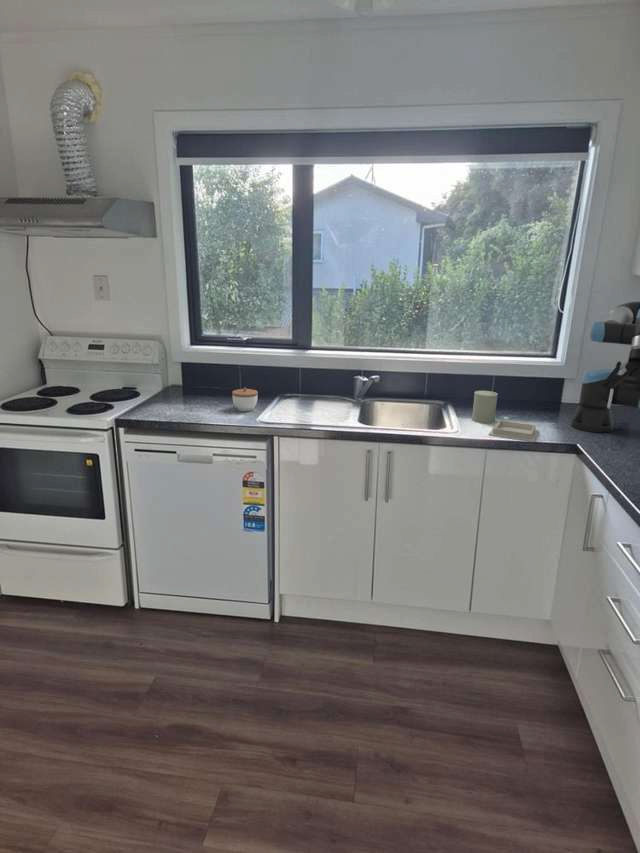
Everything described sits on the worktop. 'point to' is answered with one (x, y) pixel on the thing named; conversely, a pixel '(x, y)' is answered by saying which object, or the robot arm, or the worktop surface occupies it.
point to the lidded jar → (244, 399)
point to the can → (484, 406)
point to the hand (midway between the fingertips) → (631, 410)
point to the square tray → (514, 430)
